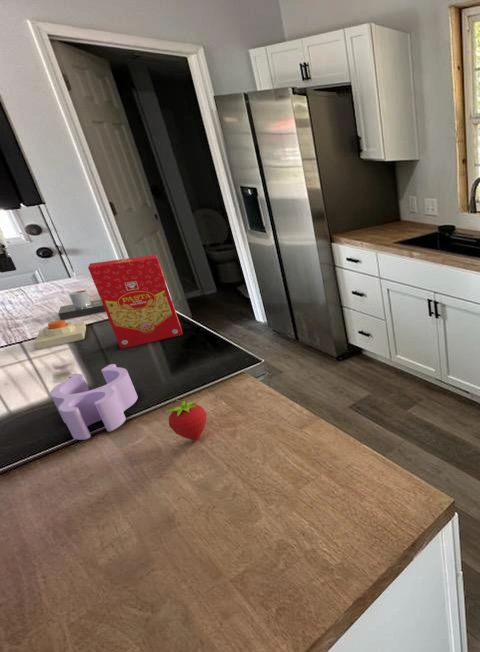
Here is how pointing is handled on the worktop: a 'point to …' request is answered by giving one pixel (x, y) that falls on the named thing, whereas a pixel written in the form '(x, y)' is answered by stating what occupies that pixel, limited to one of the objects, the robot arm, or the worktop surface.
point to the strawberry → (188, 420)
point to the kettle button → (56, 324)
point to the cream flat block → (60, 335)
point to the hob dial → (80, 299)
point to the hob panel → (81, 310)
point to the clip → (94, 401)
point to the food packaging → (136, 300)
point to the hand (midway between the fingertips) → (5, 268)
